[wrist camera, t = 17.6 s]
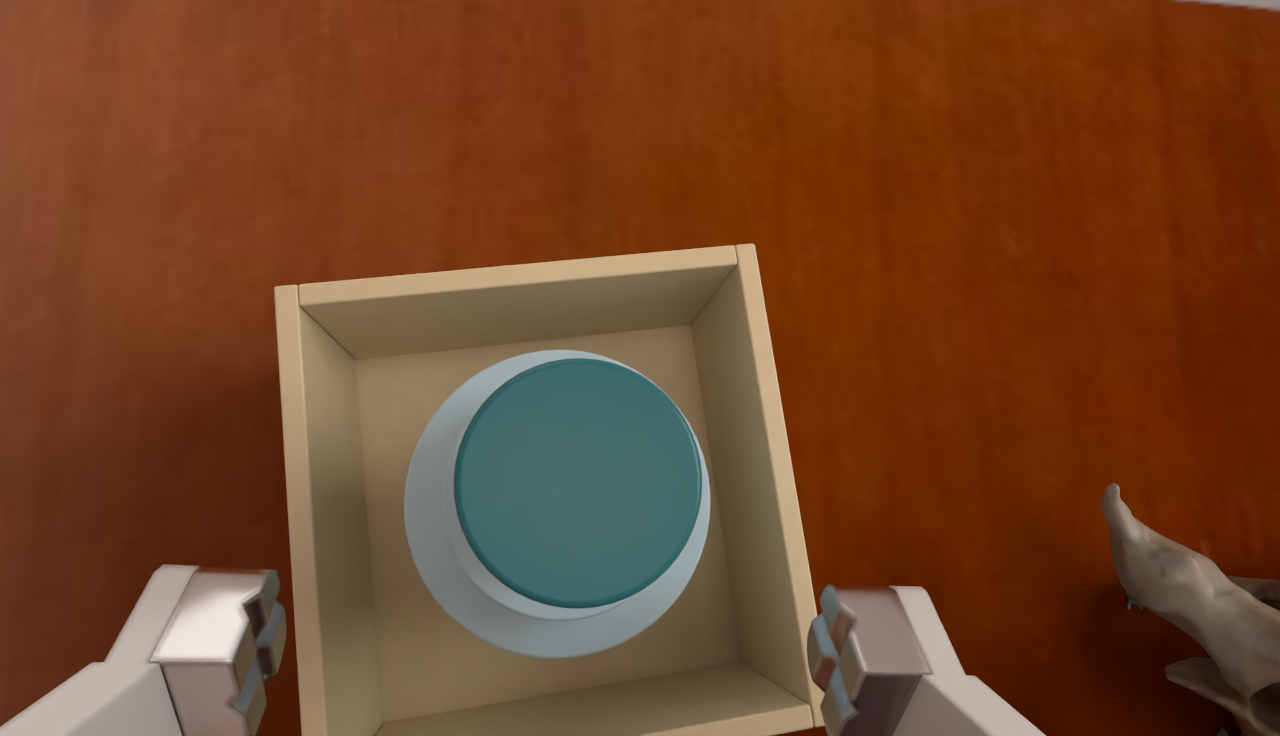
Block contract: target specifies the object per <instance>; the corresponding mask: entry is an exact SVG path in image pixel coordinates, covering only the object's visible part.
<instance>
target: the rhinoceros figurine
mask: <svg viewBox="0 0 1280 736" xmlns="http://www.w3.org/2000/svg"><path fill="white" fill-rule="evenodd" d="M1119 496H1120V489H1119V486H1118V485H1117V484H1115V483H1113V484H1110V485H1108V486H1107V487H1106V490H1105V494H1104V496H1103V498H1102V503H1101V509H1102V513H1103V515H1104V518H1105V519H1106V521H1107V523H1108V524H1109V526H1110V543H1111V552H1112V559H1113V563H1114V566H1115V571H1116V574H1117V576H1118V578H1119V581H1120V583H1121V585H1122V587H1123V588H1124V590H1125V591H1126V593H1125V594H1126V595H1127V597H1128V598H1129V602H1128V604H1127V605H1128V609H1127V610H1130V608H1131V604H1135V605H1137V606H1139V609H1140V610H1143V609H1144V607H1147V608H1148V609H1149V610H1151V611H1152V612H1154V613H1155V614H1157V615H1158V616H1160V617H1162V618H1163V619H1165V620H1166V621H1168V622H1170V623H1171V624H1173V625H1174V626H1176V627H1178V628H1179V629H1181V630H1182V631H1184V632H1185V633H1187V634H1188V635H1189V636H1190V637H1191V638H1193V639H1194V640H1195V641H1196V642H1198V643H1199V644H1200V645H1201V646H1202V647H1203V648H1204V649H1205V651H1206V652H1207V653H1208V654H1209V655H1210V657H1211V658H1206V657H1192V658H1188V659H1185V660H1181V661H1177V662H1175V663H1173V664H1170V665H1167V666H1166V667H1165V668H1164V672H1165V673H1166V675H1165V676H1166V677H1167V679H1169V680H1170V681H1172V682H1174V683H1177V684H1179V685H1182V686H1184V687H1186V688H1188V689H1190V690H1192V691H1194V692H1196V693H1197V694H1199V695H1201V696H1202V697H1204V698H1206V699H1208V700H1211V701H1213V702H1215V703H1217V704H1219V705H1220V706H1222V707H1223V708H1225V709H1227V710H1228V711H1230V712H1231V713H1232V714H1233V716H1234V717H1235V719H1236V721H1237V723H1238V725H1239V726H1240V728H1241V730H1242V731H1243V732H1242V734H1241V735H1240V736H1280V580H1271V579H1260V578H1246V577H1237V576H1225V575H1224V574H1223V573H1222V572H1221V571H1220V569H1219V568H1218V567H1217V566H1216V564H1215V563H1214V562H1212V561H1211V560H1210V559H1208V558H1207V557H1205V556H1204V555H1202V554H1200V553H1198V552H1195V551H1193V550H1191V549H1189V548H1187V547H1185V546H1183V545H1180V544H1178V543H1176V542H1174V541H1172V540H1170V539H1168V538H1166V537H1164V536H1162V535H1160V534H1158V533H1156V532H1155V531H1153V530H1152V529H1150V528H1149V527H1147V526H1146V525H1144V524H1143V523H1141V522H1140V521H1139V520H1137V519H1136V518H1134V517H1133V516H1132V514H1131V512H1130V510H1129V508H1128V507H1127V506H1126V505H1125V504H1124V502H1123V501H1122V500H1121V499H1120V497H1119ZM1217 736H1230V735H1229V734H1228V733H1227V732H1226V731H1225V730H1224V728H1223V727H1222V728H1221V730H1220V731H1219V732H1218V733H1217Z"/></svg>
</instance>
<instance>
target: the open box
mask: <svg viewBox="0 0 1280 736" xmlns="http://www.w3.org/2000/svg"><path fill="white" fill-rule="evenodd" d="M274 296H275V312H276V328H277V345H278V361H279V377H280V393H281V409H282V425H283V441H284V457H285V474H286V490H287V506H288V522H289V538H290V554H291V570H292V587H293V603H294V619H295V635H296V651H297V667H298V683H299V700H300V716H301V732H302V736H773V735H778V734H783V733H789V732H794V731H800V730H805V729H810V728H812V727H813V726H814V727H821V726H825V724H824V721H823V717H822V714H821V710H820V705H821V703H822V700H823V697H824V695H825V693H824V692H823V691H822V690H821V689H820V688H819V687H818V686H817V685H816V684H815V683H814V682H813V681H812V678H811V674H810V670H809V666H808V658H807V637H808V632H809V628H810V625H811V622H812V620H813V619H814V618H815V617H817V611H816V605H815V599H814V593H813V587H812V581H811V575H810V569H809V563H808V558H807V552H806V546H805V540H804V534H803V528H802V522H801V516H800V510H799V504H798V498H797V492H796V486H795V480H794V475H793V469H792V463H791V457H790V451H789V445H788V439H787V433H786V427H785V421H784V415H783V409H782V403H781V397H780V391H779V386H778V380H777V374H776V368H775V362H774V356H773V350H772V344H771V338H770V332H769V326H768V320H767V314H766V308H765V303H764V297H763V291H762V285H761V279H760V273H759V267H758V261H757V255H756V249H755V245H754V244H741V245H736V246H735V247H734V246H733V245H730V246H719V247H708V248H697V249H686V250H675V251H664V252H653V253H642V254H631V255H620V256H609V257H598V258H586V259H575V260H564V261H553V262H542V263H531V264H520V265H509V266H498V267H487V268H476V269H465V270H454V271H443V272H432V273H421V274H410V275H398V276H387V277H376V278H365V279H354V280H343V281H332V282H321V283H310V284H300V285H299V286H297V285H286V286H276V287H274ZM562 349H563V350H575V351H584V352H588V353H593V354H598V355H602V356H604V357H607V358H610V359H613V360H616V361H619V362H621V363H623V364H625V365H627V366H629V367H631V368H633V369H635V370H636V371H638V372H639V373H641V374H642V375H644V376H645V377H647V378H648V379H650V380H651V381H652V382H654V383H655V384H656V385H657V386H658V387H659V388H660V389H661V390H663V391H664V392H665V393H666V394H667V395H668V396H669V397H670V399H671V400H672V401H673V402H674V403H675V404H676V405H677V407H678V408H679V409H680V411H681V412H682V414H683V415H684V416H685V418H686V419H687V421H688V422H689V424H690V426H691V428H692V430H693V432H694V434H695V436H696V438H697V440H698V442H699V445H700V448H701V450H702V453H703V456H704V459H705V463H706V468H707V472H708V477H709V486H710V497H711V501H710V520H709V526H708V532H707V538H706V541H705V544H704V548H703V551H702V554H701V557H700V560H699V562H698V564H697V566H696V568H695V571H694V573H693V575H692V577H691V578H690V580H689V582H688V583H687V585H686V587H685V588H684V590H683V592H682V593H681V594H680V595H679V597H678V598H677V599H676V600H675V602H674V603H673V604H672V605H671V607H670V608H669V609H668V610H667V611H666V612H665V613H664V614H663V615H662V616H661V617H660V618H659V619H657V620H656V621H655V622H654V623H653V624H652V625H650V626H649V627H648V628H646V629H645V630H643V631H642V632H641V633H639V634H638V635H636V636H634V637H633V638H631V639H629V640H627V641H625V642H623V643H622V644H620V645H617V646H615V647H612V648H609V649H607V650H604V651H602V652H598V653H594V654H590V655H586V656H581V657H573V658H563V659H551V658H536V657H530V656H525V655H519V654H515V653H512V652H509V651H506V650H503V649H500V648H497V647H495V646H493V645H491V644H489V643H487V642H485V641H483V640H481V639H479V638H478V637H476V636H475V635H473V634H472V633H470V632H469V631H467V630H466V629H464V628H463V627H462V626H460V625H459V624H458V623H457V622H456V621H455V620H454V619H453V618H452V617H450V616H449V615H448V614H447V613H446V612H445V611H444V609H443V608H442V607H441V606H440V605H439V603H438V602H437V601H436V600H435V599H434V598H433V596H432V594H431V593H430V591H429V590H428V588H427V587H426V585H425V583H424V582H423V580H422V578H421V576H420V574H419V572H418V569H417V567H416V565H415V563H414V561H413V557H412V554H411V551H410V547H409V544H408V540H407V534H406V527H405V521H404V494H405V485H406V478H407V474H408V470H409V466H410V461H411V458H412V455H413V453H414V450H415V448H416V445H417V443H418V440H419V438H420V436H421V435H422V433H423V431H424V429H425V427H426V425H427V424H428V422H429V420H430V419H431V418H432V416H433V415H434V414H435V412H436V411H437V410H438V408H439V407H440V405H441V404H442V403H443V402H444V401H445V400H446V399H447V398H448V397H449V396H450V395H451V394H452V393H453V392H454V391H455V390H456V389H457V388H458V387H460V386H461V385H462V384H463V383H465V382H466V381H467V380H468V379H470V378H471V377H473V376H474V375H476V374H478V373H479V372H481V371H482V370H484V369H486V368H487V367H490V366H492V365H494V364H496V363H498V362H501V361H503V360H505V359H508V358H511V357H515V356H518V355H521V354H525V353H531V352H536V351H542V350H562Z"/></svg>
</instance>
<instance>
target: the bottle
mask: <svg viewBox="0 0 1280 736" xmlns="http://www.w3.org/2000/svg"><path fill="white" fill-rule="evenodd" d="M710 501H711V497H710V486H709V477H708V472H707V468H706V463H705V459H704V456H703V453H702V450H701V448H700V445H699V442H698V440H697V438H696V436H695V434H694V432H693V430H692V428H691V426H690V424H689V422H688V421H687V419H686V418H685V416H684V415H683V414H682V412H681V411H680V409H679V408H678V407H677V405H676V404H675V403H674V402H673V401H672V400H671V399H670V397H669V396H668V395H667V394H666V393H665V392H664V391H663V390H661V389H660V388H659V387H658V386H657V385H656V384H655V383H654V382H652V381H651V380H650V379H648V378H647V377H645V376H644V375H642V374H641V373H639V372H638V371H636V370H635V369H633V368H631V367H629V366H627V365H625V364H623V363H621V362H619V361H616V360H613V359H610V358H607V357H604V356H602V355H598V354H593V353H588V352H584V351H575V350H563V349H562V350H542V351H536V352H531V353H525V354H521V355H518V356H515V357H511V358H508V359H505V360H503V361H501V362H498V363H496V364H494V365H492V366H490V367H487V368H486V369H484V370H482V371H481V372H479V373H478V374H476V375H474V376H473V377H471V378H470V379H468V380H467V381H466V382H465V383H463V384H462V385H461V386H460V387H458V388H457V389H456V390H455V391H454V392H453V393H452V394H451V395H450V396H449V397H448V398H447V399H446V400H445V401H444V402H443V403H442V404H441V405H440V407H439V408H438V410H437V411H436V412H435V414H434V415H433V416H432V418H431V419H430V420H429V422H428V424H427V425H426V427H425V429H424V431H423V433H422V435H421V436H420V438H419V440H418V443H417V445H416V448H415V450H414V453H413V455H412V458H411V461H410V466H409V470H408V474H407V478H406V485H405V494H404V521H405V527H406V534H407V540H408V544H409V547H410V551H411V554H412V557H413V561H414V563H415V565H416V567H417V569H418V572H419V574H420V576H421V578H422V580H423V582H424V583H425V585H426V587H427V588H428V590H429V591H430V593H431V594H432V596H433V598H434V599H435V600H436V601H437V602H438V603H439V605H440V606H441V607H442V608H443V609H444V611H445V612H446V613H447V614H448V615H449V616H450V617H452V618H453V619H454V620H455V621H456V622H457V623H458V624H459V625H460V626H462V627H463V628H464V629H466V630H467V631H469V632H470V633H472V634H473V635H475V636H476V637H478V638H479V639H481V640H483V641H485V642H487V643H489V644H491V645H493V646H495V647H497V648H500V649H503V650H506V651H509V652H512V653H515V654H519V655H525V656H530V657H536V658H551V659H563V658H573V657H581V656H586V655H590V654H594V653H598V652H602V651H604V650H607V649H609V648H612V647H615V646H617V645H620V644H622V643H623V642H625V641H627V640H629V639H631V638H633V637H634V636H636V635H638V634H639V633H641V632H642V631H643V630H645V629H646V628H648V627H649V626H650V625H652V624H653V623H654V622H655V621H656V620H657V619H659V618H660V617H661V616H662V615H663V614H664V613H665V612H666V611H667V610H668V609H669V608H670V607H671V605H672V604H673V603H674V602H675V600H676V599H677V598H678V597H679V595H680V594H681V593H682V592H683V590H684V588H685V587H686V585H687V583H688V582H689V580H690V578H691V577H692V575H693V573H694V571H695V568H696V566H697V564H698V562H699V560H700V557H701V554H702V551H703V548H704V544H705V541H706V538H707V532H708V526H709V520H710Z"/></svg>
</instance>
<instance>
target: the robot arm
mask: <svg viewBox="0 0 1280 736" xmlns="http://www.w3.org/2000/svg"><path fill="white" fill-rule="evenodd" d="M280 587H281V585H280V581H279V577H278V572H277V571H276V570H272V569H254V568H235V567H216V566H189V565H167V564H163V565H162V566H161V567H160V568H159V569H157V570H156V571H155V572H154V573H153V574H152V576H151V578H150V580H149V582H148V583H147V585H146V587H145V589H144V591H143V592H142V594H141V596H140V598H139V599H138V601H137V603H136V605H135V607H134V608H133V610H132V612H131V614H130V616H129V617H128V619H127V621H126V623H125V625H124V626H123V628H122V630H121V632H120V634H119V635H118V637H117V639H116V641H115V643H114V644H113V646H112V648H111V650H110V652H109V653H108V655H107V657H106V659H105V661H104V662H92V663H90V664H89V665H87V666H86V667H85V668H83V669H82V670H80V671H79V672H77V673H76V674H75V675H73V676H72V677H70V678H69V679H68V680H66V681H65V682H63V683H62V684H60V685H59V686H58V687H56V688H55V689H53V690H52V691H50V692H49V693H48V694H46V695H45V696H43V697H42V698H40V699H39V700H38V701H36V702H35V703H33V704H32V705H30V706H29V707H28V708H26V709H25V710H23V711H22V712H20V713H19V714H18V715H16V716H15V717H13V718H12V719H10V720H9V721H8V722H6V723H5V724H3V725H2V726H1V727H0V736H255V735H256V733H257V730H258V727H259V724H260V721H261V718H262V715H263V713H264V710H265V707H266V704H267V698H266V693H265V688H264V684H265V683H267V682H268V681H269V680H270V679H271V678H272V677H274V676H275V675H276V674H277V672H278V669H279V666H280V663H281V660H282V657H283V652H284V646H285V640H286V613H285V608H284V607H283V606H282V605H281V604H280V603H278V602H277V601H276V598H277V596H278V593H279V590H280ZM819 603H820V606H821V610H822V613H821V614H820V615H818V616H817V617H815V618H814V619H813V620H812V622H811V625H810V628H809V632H808V637H807V658H808V666H809V670H810V674H811V678H812V681H813V682H814V683H815V684H816V685H817V686H818V687H819V688H820V689H821V690H822V691H823V692H824V693H825V695H824V697H823V700H822V703H821V705H820V710H821V714H822V717H823V721H824V724H825V728H826V731H827V735H828V736H1046V735H1045V734H1044V733H1042V732H1041V731H1040V730H1039V729H1038V728H1036V727H1035V726H1034V725H1033V724H1032V723H1031V722H1029V721H1028V720H1027V719H1026V718H1025V717H1023V716H1022V715H1021V714H1020V713H1019V712H1017V711H1016V710H1015V709H1014V708H1013V707H1012V706H1010V705H1009V704H1008V703H1007V702H1006V701H1004V700H1003V699H1002V698H1001V697H1000V696H998V695H997V694H996V693H995V692H994V691H993V690H991V689H990V688H989V687H988V686H987V685H985V684H984V683H983V682H982V681H981V680H979V679H978V678H977V677H976V676H969V675H965V672H964V670H963V668H962V666H961V664H960V662H959V660H958V657H957V655H956V653H955V651H954V649H953V647H952V644H951V642H950V640H949V638H948V636H947V634H946V632H945V629H944V627H943V625H942V623H941V621H940V619H939V617H938V614H937V612H936V610H935V608H934V606H933V604H932V601H931V599H930V597H929V595H928V593H927V591H925V590H924V589H923V588H922V587H915V586H887V585H832V584H828V585H827V586H826V587H825V588H824V589H823V591H822V594H821V596H820V599H819Z"/></svg>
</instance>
